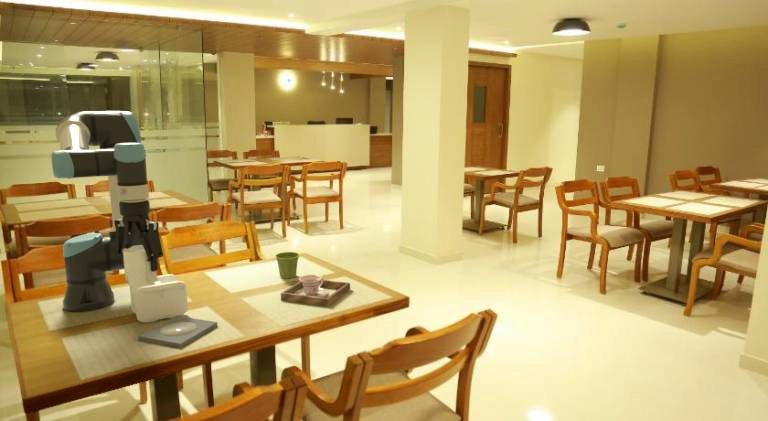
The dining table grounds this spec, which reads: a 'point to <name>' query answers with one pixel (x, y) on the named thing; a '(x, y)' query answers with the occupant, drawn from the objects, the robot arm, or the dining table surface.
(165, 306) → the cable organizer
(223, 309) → the dining table surface
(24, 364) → the dining table surface
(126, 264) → the white cup
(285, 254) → the plant pot
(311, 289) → the teacup
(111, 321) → the dining table surface
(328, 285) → the teacup tray rim
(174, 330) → the slate mat
